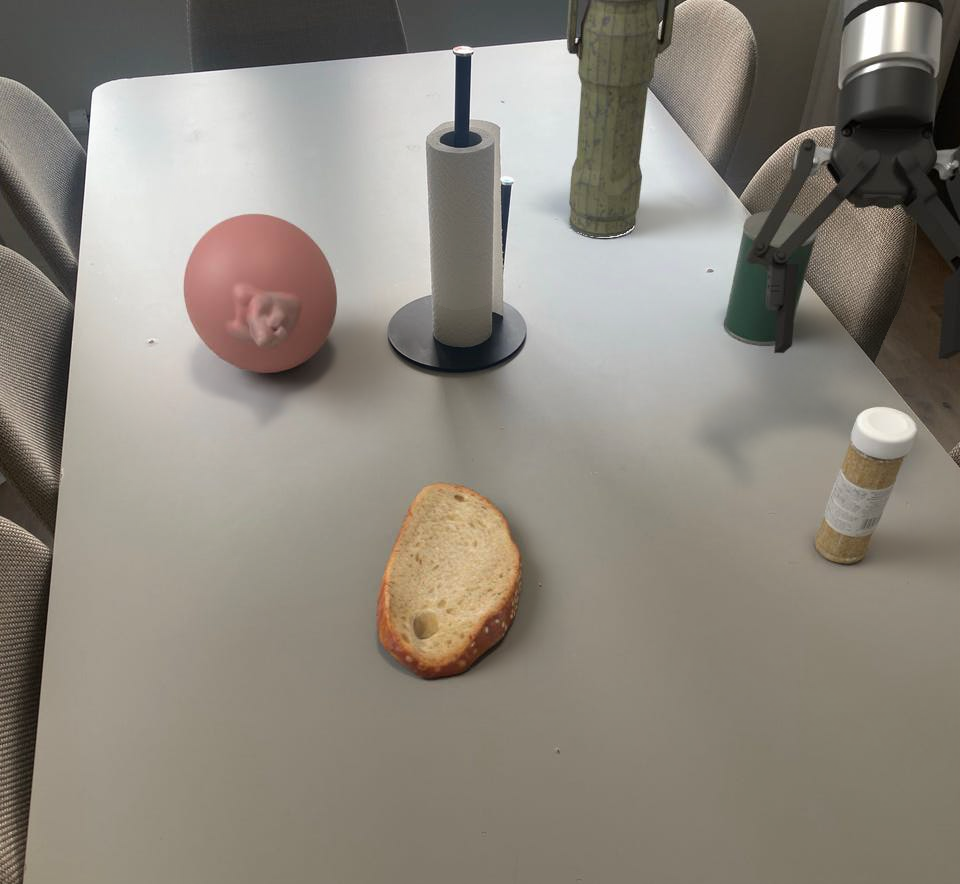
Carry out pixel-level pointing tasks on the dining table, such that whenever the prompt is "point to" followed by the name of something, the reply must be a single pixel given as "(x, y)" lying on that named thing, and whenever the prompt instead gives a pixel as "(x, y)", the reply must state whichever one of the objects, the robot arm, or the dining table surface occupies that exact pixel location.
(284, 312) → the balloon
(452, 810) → the dining table surface
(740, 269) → the tin can
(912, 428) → the sprinkles bottle
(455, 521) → the bread slice
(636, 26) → the thermos
